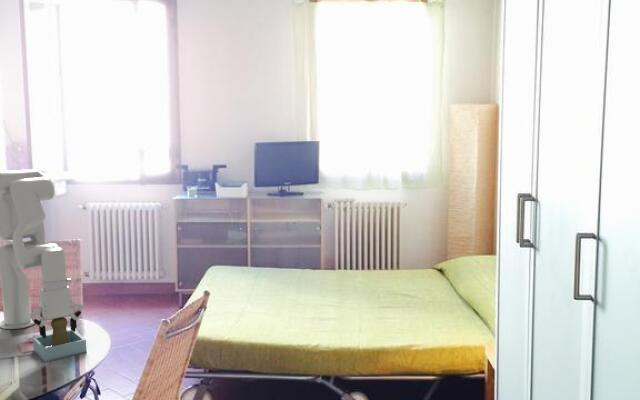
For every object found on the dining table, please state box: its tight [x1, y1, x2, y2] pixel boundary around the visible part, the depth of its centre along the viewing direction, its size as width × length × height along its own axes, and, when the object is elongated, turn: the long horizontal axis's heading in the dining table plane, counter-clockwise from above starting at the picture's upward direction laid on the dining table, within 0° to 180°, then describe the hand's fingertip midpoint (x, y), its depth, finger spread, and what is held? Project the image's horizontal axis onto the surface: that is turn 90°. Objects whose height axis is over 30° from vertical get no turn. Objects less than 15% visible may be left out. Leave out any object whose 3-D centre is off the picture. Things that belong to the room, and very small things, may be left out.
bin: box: [32, 329, 87, 363], centre depth 226 cm, size 14×14×4 cm
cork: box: [50, 317, 69, 346], centre depth 226 cm, size 6×6×11 cm
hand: (58, 333), depth 226 cm, fingers open, 9 cm apart
